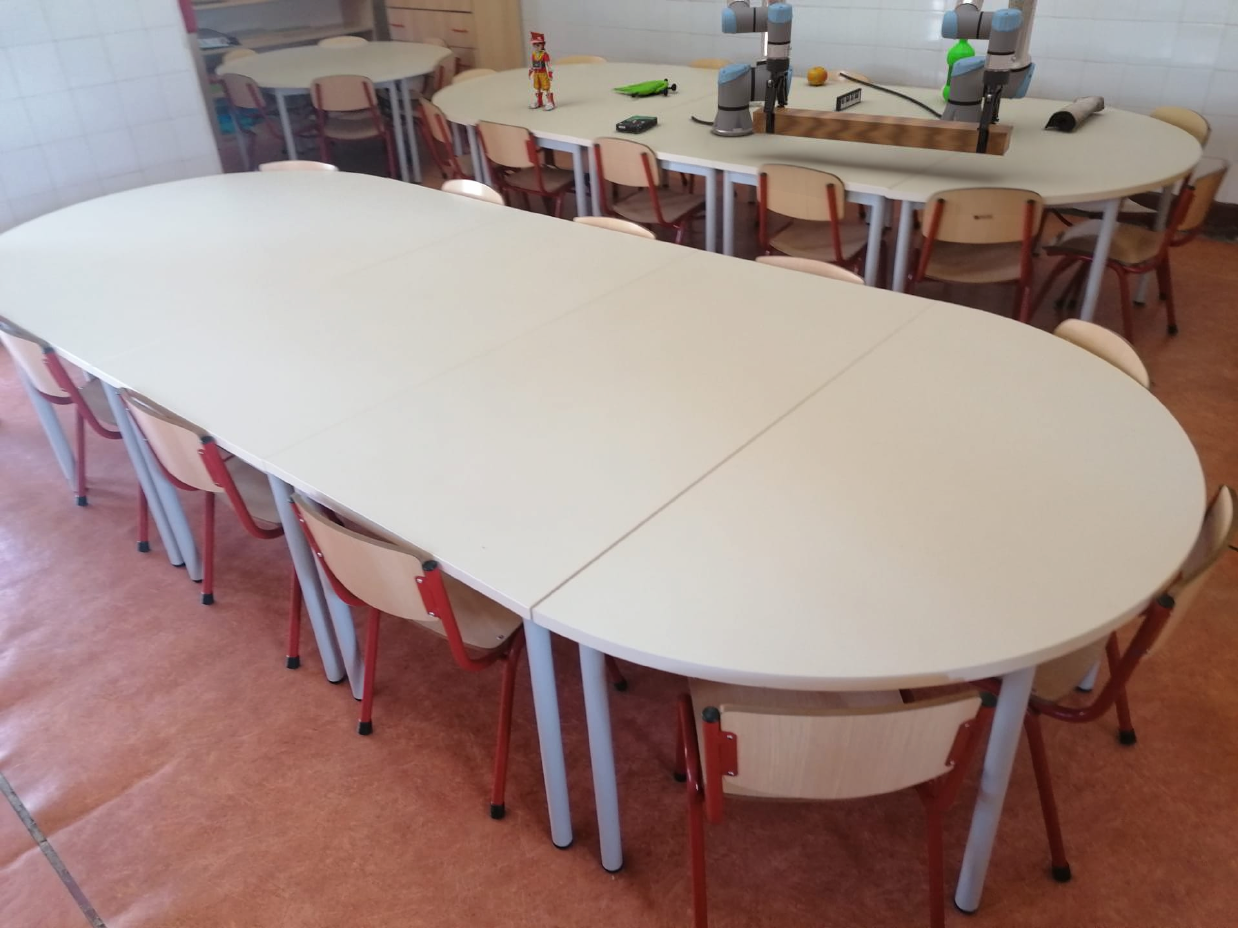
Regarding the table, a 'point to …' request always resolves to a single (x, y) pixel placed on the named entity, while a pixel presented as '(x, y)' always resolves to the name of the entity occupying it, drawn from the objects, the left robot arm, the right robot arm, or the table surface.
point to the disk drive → (636, 124)
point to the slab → (884, 130)
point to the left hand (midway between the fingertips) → (774, 129)
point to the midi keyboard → (848, 99)
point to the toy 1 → (541, 71)
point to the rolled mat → (1075, 113)
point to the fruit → (817, 76)
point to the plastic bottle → (954, 55)
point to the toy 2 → (648, 88)
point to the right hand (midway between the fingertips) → (983, 148)
